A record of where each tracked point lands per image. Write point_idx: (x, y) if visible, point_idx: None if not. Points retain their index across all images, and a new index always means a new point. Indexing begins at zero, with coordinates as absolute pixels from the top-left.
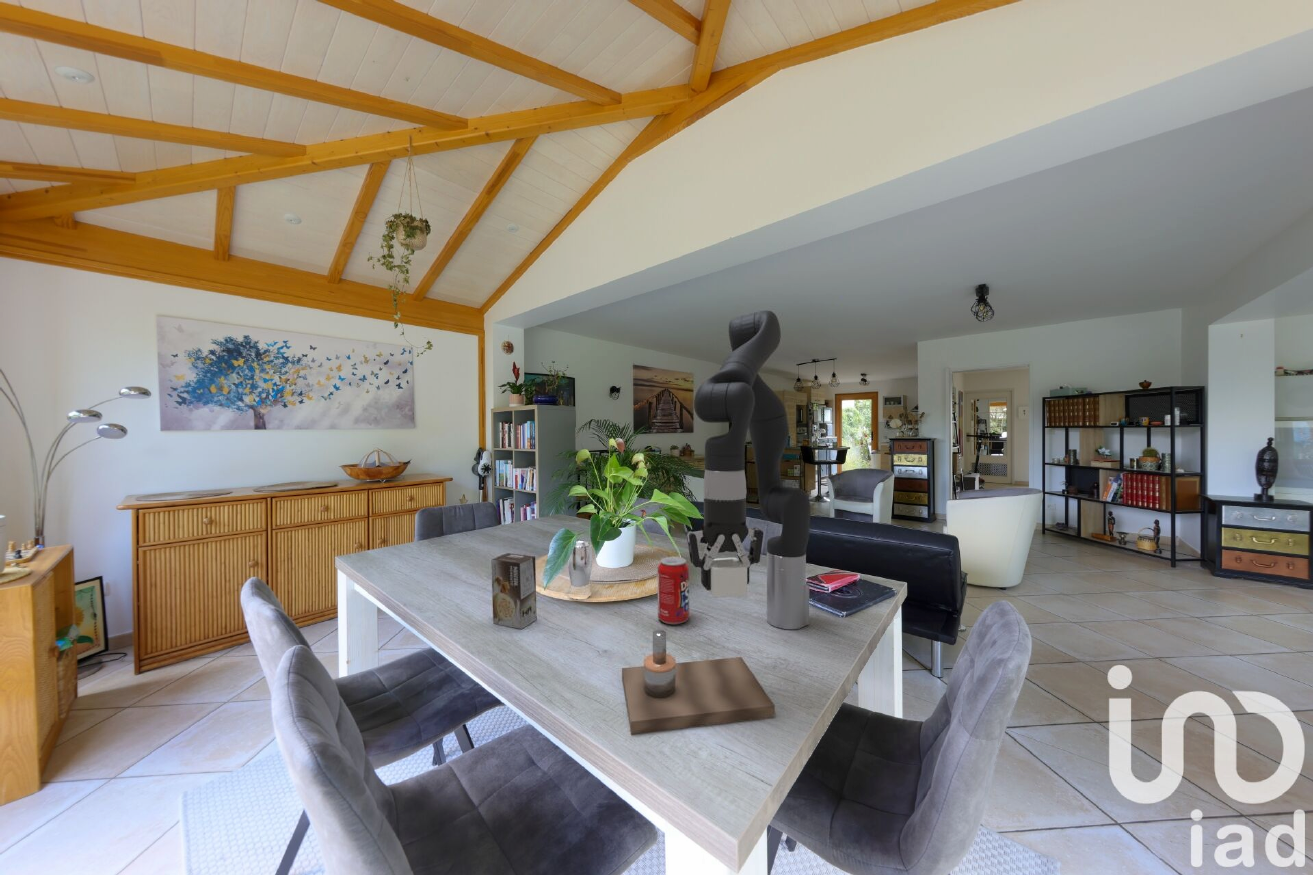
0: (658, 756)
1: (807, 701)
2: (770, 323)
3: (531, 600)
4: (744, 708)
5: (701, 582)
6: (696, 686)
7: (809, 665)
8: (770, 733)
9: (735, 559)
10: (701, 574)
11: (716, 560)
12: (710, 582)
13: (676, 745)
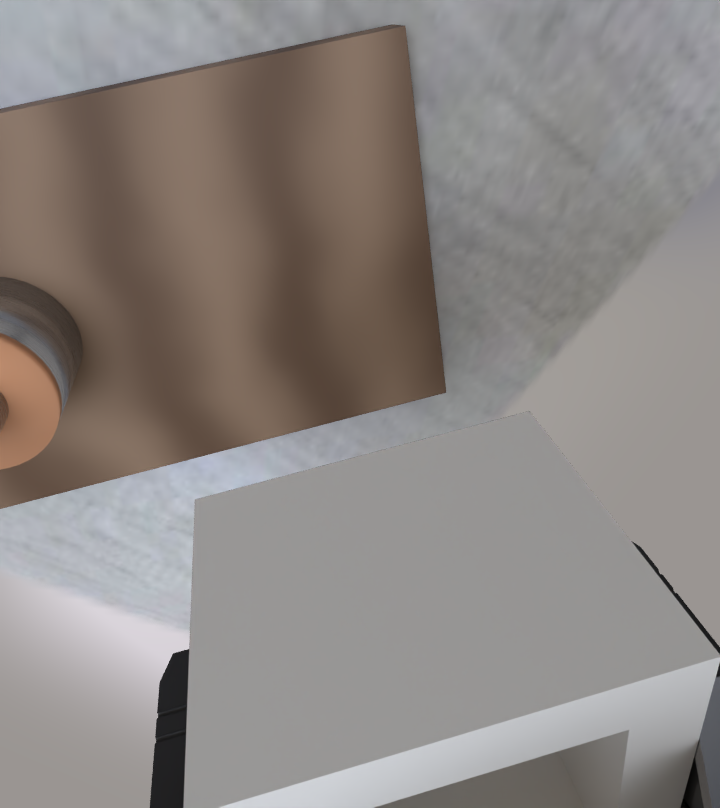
0: (91, 546)
1: (568, 285)
2: None
3: None
4: (345, 416)
5: (165, 689)
6: (170, 313)
7: (712, 8)
8: (401, 436)
9: (669, 724)
10: (160, 779)
11: (381, 794)
12: None
13: (133, 509)
